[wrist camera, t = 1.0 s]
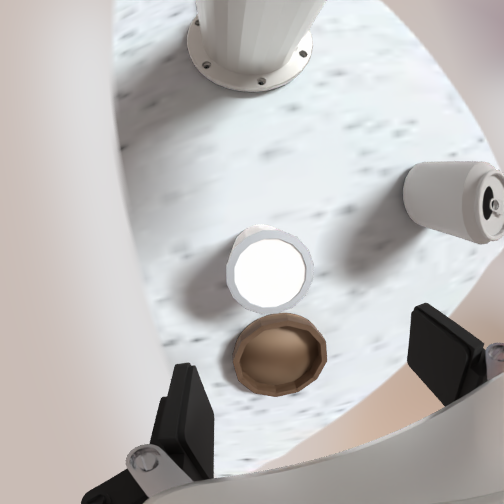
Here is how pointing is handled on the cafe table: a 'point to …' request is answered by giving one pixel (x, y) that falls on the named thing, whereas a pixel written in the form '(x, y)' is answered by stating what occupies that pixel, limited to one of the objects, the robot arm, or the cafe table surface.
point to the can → (457, 199)
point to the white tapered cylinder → (268, 270)
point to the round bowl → (279, 354)
